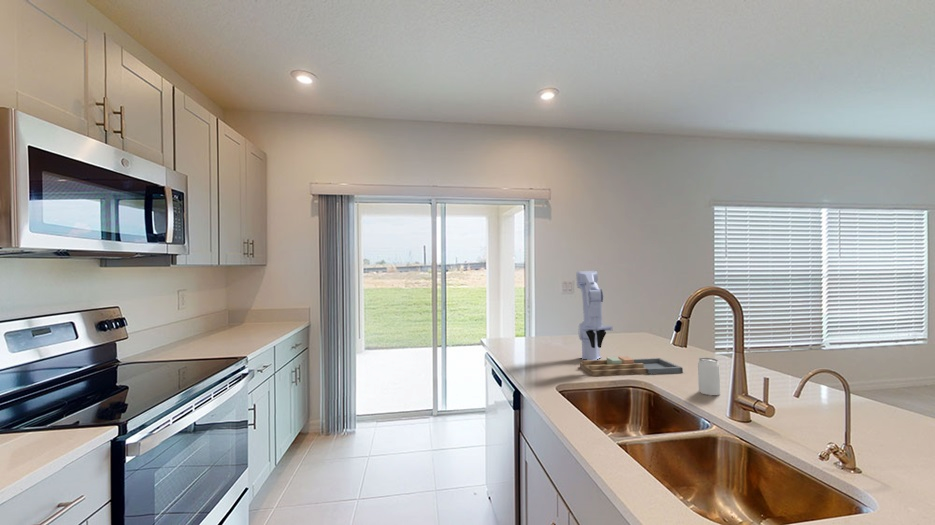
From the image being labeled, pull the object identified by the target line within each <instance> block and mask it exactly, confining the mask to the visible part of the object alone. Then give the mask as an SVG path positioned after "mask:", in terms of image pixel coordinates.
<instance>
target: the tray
mask: <svg viewBox="0 0 935 525" xmlns="http://www.w3.org/2000/svg"><path fill="white" fill-rule="evenodd" d="M633 359H634V363H643V364H644V368H646V369H647V374H646V375H662V374H682V373H684V372H683V370H684V369H683V367H682V366H679V365H677V364H675V363H672V362H671V361H670V362H669V361H667V360H665V359H663V358H661V357H656V358H655V357H653V358H633Z"/></svg>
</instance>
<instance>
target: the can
mask: <svg viewBox="0 0 935 525" xmlns="http://www.w3.org/2000/svg"><path fill="white" fill-rule="evenodd" d="M720 370H721V369H720V363H719V362H718V359H715V358H711V357H700V358H698V362H697V378H698V379H697V381H698V384H697V385H698V392H699V393H700V392H701V393H700V394H702V393H703V394H702V395H704V394H707V395H706V396H709V395H718V396H719V395H721V377H720V376H721V374H720Z"/></svg>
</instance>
